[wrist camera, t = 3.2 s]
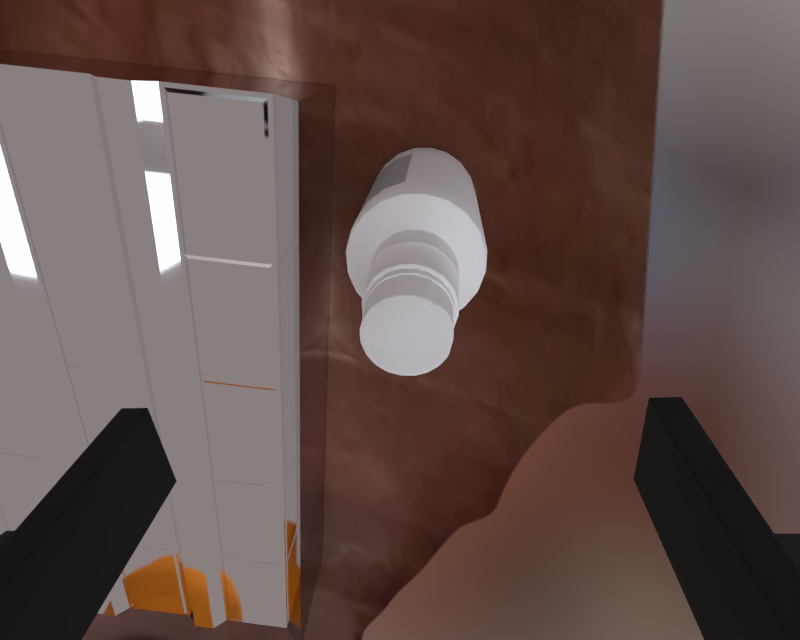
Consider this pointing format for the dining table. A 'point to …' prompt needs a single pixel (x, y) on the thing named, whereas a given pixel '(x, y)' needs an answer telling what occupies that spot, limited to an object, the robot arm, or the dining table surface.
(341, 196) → the dining table surface
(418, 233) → the white bottle
